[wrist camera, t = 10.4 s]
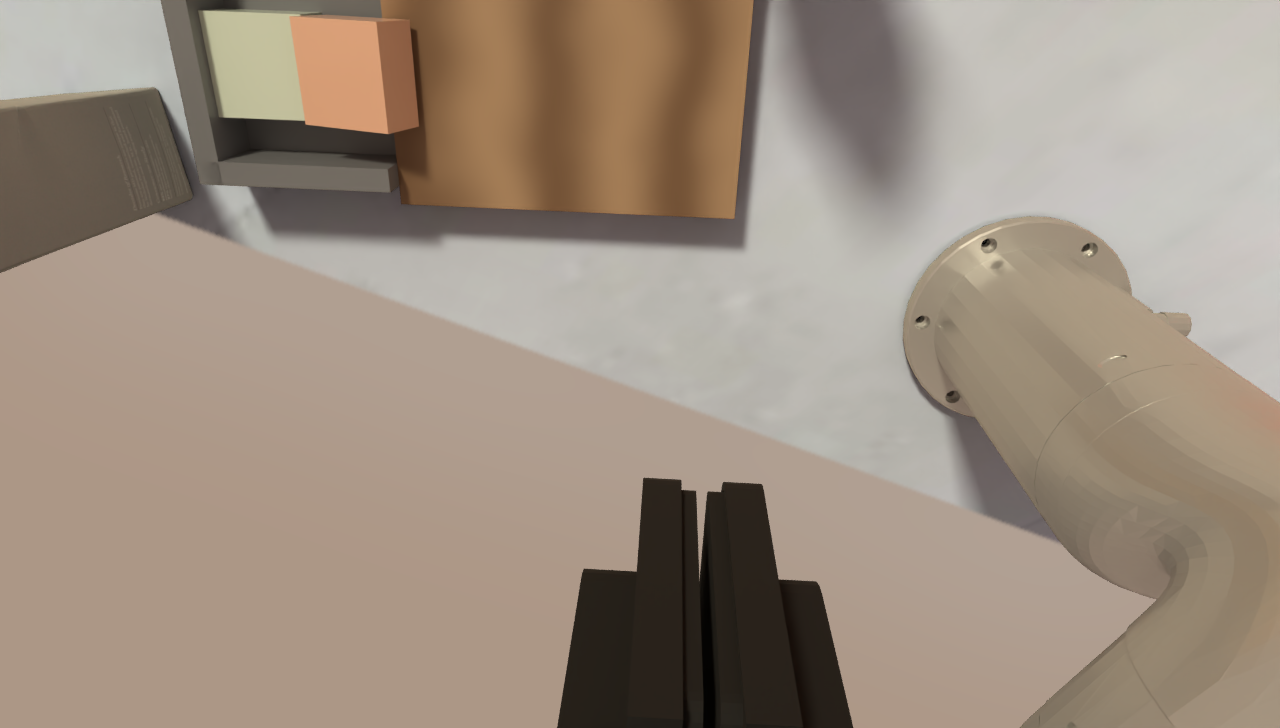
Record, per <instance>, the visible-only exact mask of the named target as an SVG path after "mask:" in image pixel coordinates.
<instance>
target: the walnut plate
mask: <svg viewBox="0 0 1280 728" xmlns="http://www.w3.org/2000/svg"><path fill="white" fill-rule="evenodd" d="M380 1H381V11H382V18H388V19H404V20H410V31H411V42H412V53H413V64H414V75H415V87H416V98H417V109H418V120H419V127H415V128H411V129H407V130H403V131H399V132H395V133H394V138H395V148H396V157H397V167H398V177H399V187H400V197H401V204H410V205H432V206H455V207H477V208H500V209H523V210H545V211H568V212H590V213H613V214H635V215H658V216H680V217H703V218H725V219H734V217H735V206H736V195H737V183H738V172H739V161H740V149H741V138H742V127H743V115H744V104H745V93H746V81H747V70H748V59H749V47H750V36H751V25H752V13H753V2H754V0H380Z"/></svg>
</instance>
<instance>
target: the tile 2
mask: <svg viewBox="0 0 1280 728" xmlns="http://www.w3.org/2000/svg"><path fill="white" fill-rule="evenodd" d="M289 18H290V24H291V31H292V38H293V44H294V51H295V57H296V64H297V71H298V77H299V84H300V90H301V97H302V104H303V110H304V117H305V124H306V125H314V126H323V127H331V128H340V129H348V130H357V131H366V132H374V133H383V134H391V133H395V132H399V131H403V130H407V129H411V128H415V127H419V120H418V109H417V98H416V87H415V75H414V64H413V53H412V42H411V31H410V20H404V19H388V18H371V17H355V16H339V15H307V16H289Z"/></svg>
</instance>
